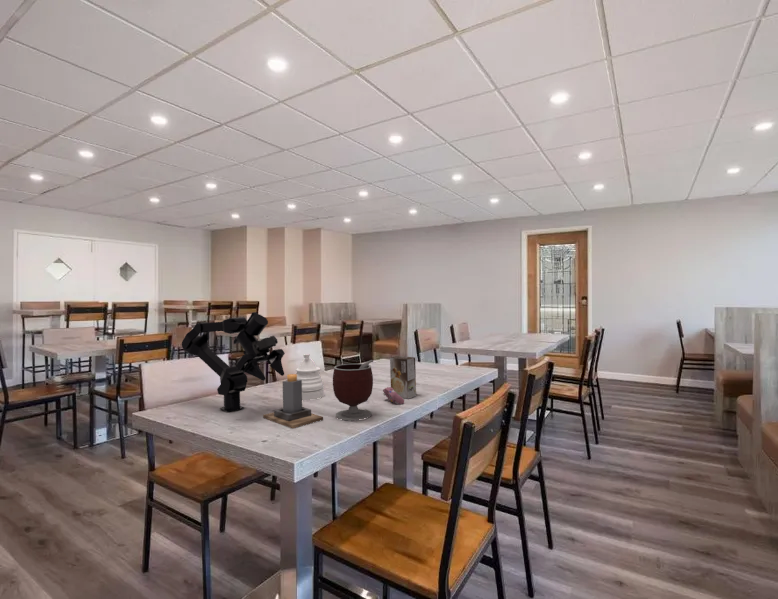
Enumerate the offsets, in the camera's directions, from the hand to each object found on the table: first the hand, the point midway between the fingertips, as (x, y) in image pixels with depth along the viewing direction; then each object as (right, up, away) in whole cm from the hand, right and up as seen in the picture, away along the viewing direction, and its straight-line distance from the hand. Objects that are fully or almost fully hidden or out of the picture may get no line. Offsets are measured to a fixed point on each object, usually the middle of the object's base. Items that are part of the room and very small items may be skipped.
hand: (274, 377), depth 143 cm
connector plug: (+7, -12, -4) cm, 15 cm away
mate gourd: (+29, -13, -2) cm, 31 cm away
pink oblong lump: (+42, -13, +17) cm, 47 cm away
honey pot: (+6, -14, +27) cm, 31 cm away
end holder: (+7, -13, -4) cm, 16 cm away
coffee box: (+46, -13, +26) cm, 54 cm away
